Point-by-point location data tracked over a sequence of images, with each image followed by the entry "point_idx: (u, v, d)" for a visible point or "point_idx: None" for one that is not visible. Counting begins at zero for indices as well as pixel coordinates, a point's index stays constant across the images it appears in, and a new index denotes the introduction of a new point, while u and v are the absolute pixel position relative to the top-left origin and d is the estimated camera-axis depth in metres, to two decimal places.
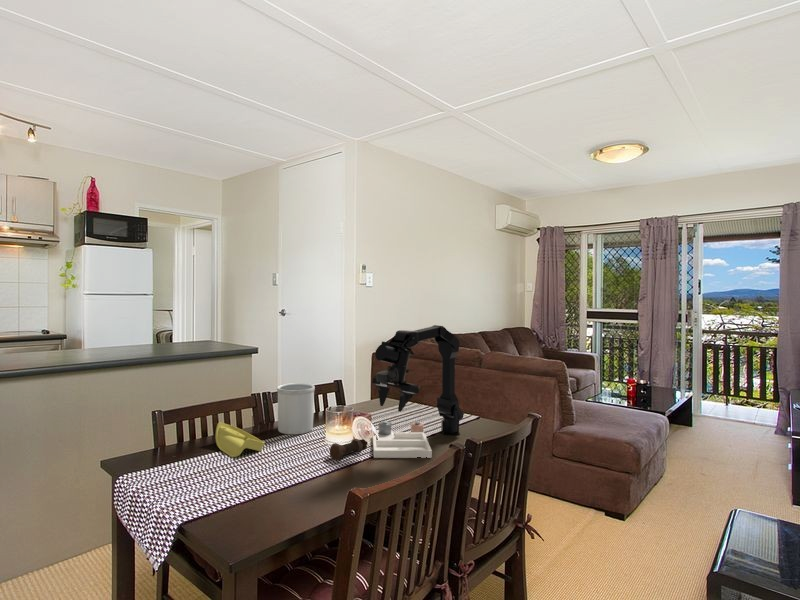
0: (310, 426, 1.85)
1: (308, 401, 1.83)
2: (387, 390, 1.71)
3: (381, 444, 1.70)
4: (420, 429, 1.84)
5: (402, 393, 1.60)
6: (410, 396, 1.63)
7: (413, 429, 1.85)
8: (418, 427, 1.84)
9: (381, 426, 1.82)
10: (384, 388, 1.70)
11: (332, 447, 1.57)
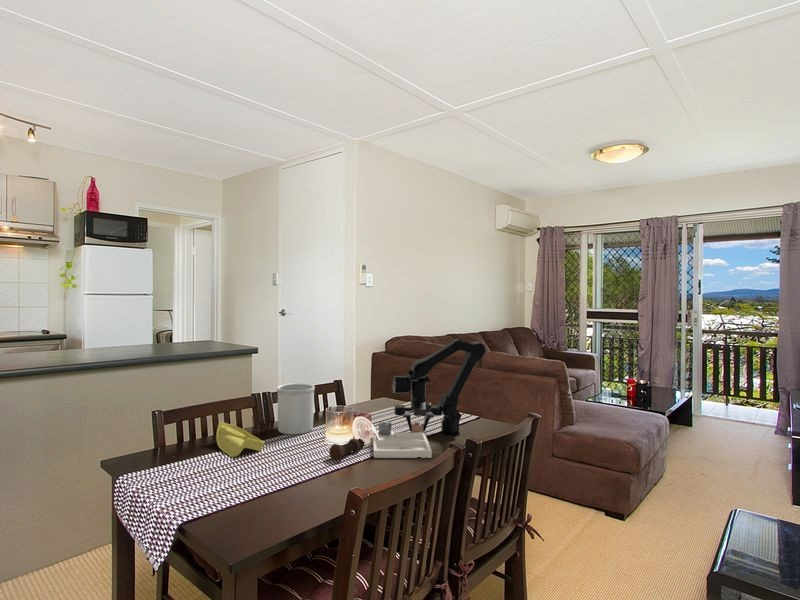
0: (310, 426, 1.85)
1: (308, 401, 1.83)
2: None
3: (381, 444, 1.70)
4: (420, 428, 1.84)
5: (430, 417, 1.84)
6: None
7: (413, 429, 1.85)
8: (418, 427, 1.84)
9: (381, 426, 1.82)
10: (409, 415, 1.86)
11: (332, 448, 1.57)
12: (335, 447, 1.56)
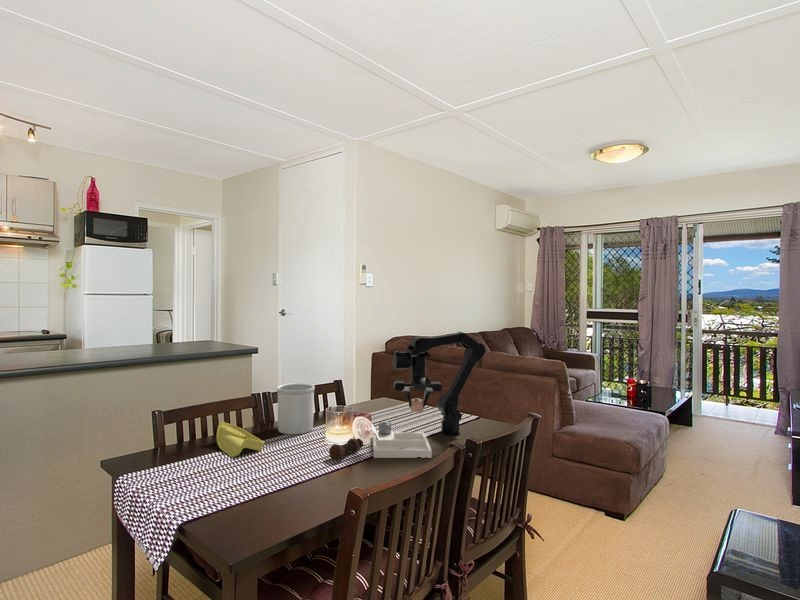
0: (310, 426, 1.85)
1: (308, 401, 1.83)
2: None
3: (381, 444, 1.70)
4: (420, 404, 1.82)
5: (430, 393, 1.82)
6: None
7: (413, 405, 1.83)
8: (418, 403, 1.82)
9: (381, 426, 1.82)
10: (409, 391, 1.84)
11: (332, 448, 1.56)
12: (335, 447, 1.56)
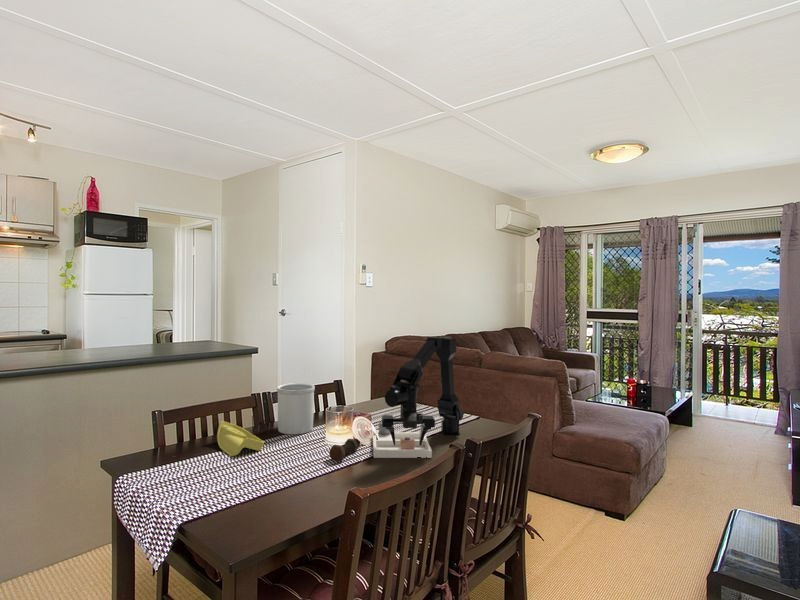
0: (310, 426, 1.85)
1: (308, 401, 1.83)
2: None
3: (381, 444, 1.70)
4: (411, 444, 1.64)
5: (427, 429, 1.63)
6: None
7: (402, 445, 1.64)
8: (408, 443, 1.63)
9: (381, 426, 1.82)
10: (393, 427, 1.65)
11: (333, 449, 1.56)
12: (336, 448, 1.55)
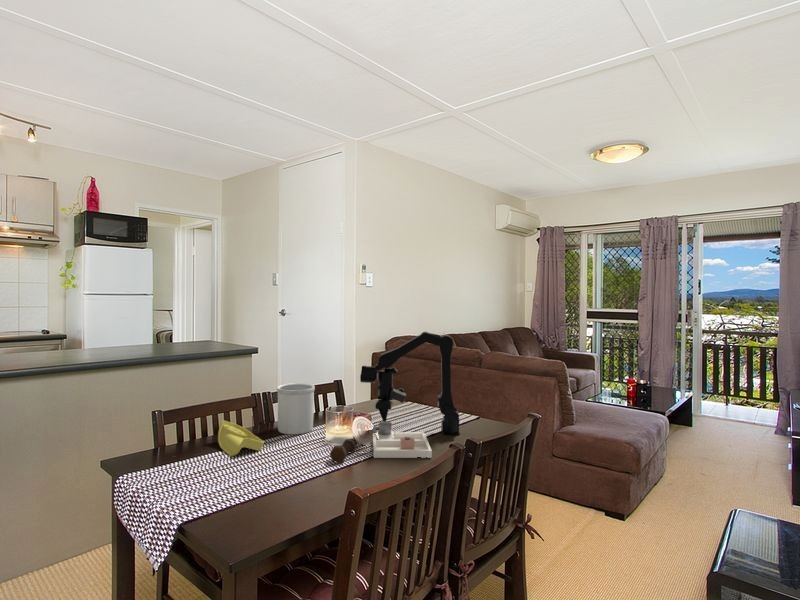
0: (310, 426, 1.85)
1: (308, 401, 1.83)
2: None
3: (381, 444, 1.70)
4: (411, 444, 1.64)
5: None
6: None
7: (403, 445, 1.64)
8: (408, 443, 1.63)
9: (381, 426, 1.82)
10: None
11: (334, 450, 1.55)
12: (338, 449, 1.55)
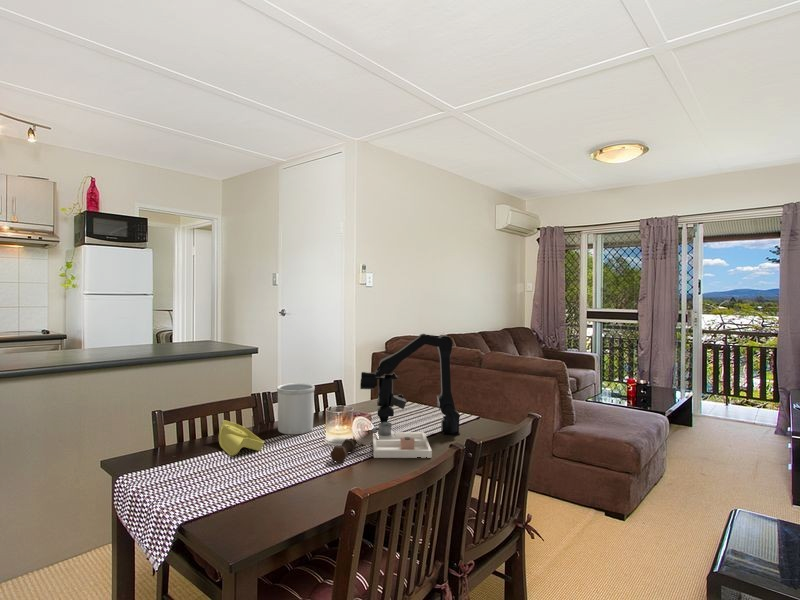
0: (310, 426, 1.85)
1: (308, 401, 1.83)
2: None
3: (381, 444, 1.70)
4: (411, 444, 1.64)
5: None
6: None
7: (403, 445, 1.64)
8: (408, 443, 1.63)
9: (381, 427, 1.82)
10: None
11: (335, 450, 1.55)
12: (338, 449, 1.54)
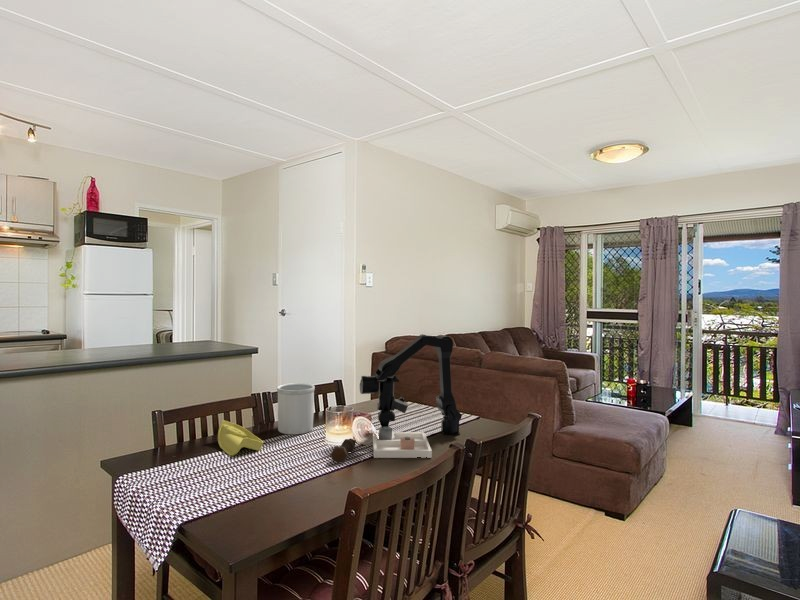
0: (310, 426, 1.85)
1: (308, 401, 1.83)
2: None
3: (381, 444, 1.70)
4: (411, 444, 1.64)
5: None
6: None
7: (403, 445, 1.64)
8: (408, 443, 1.63)
9: (381, 431, 1.76)
10: None
11: (335, 450, 1.54)
12: (339, 449, 1.54)
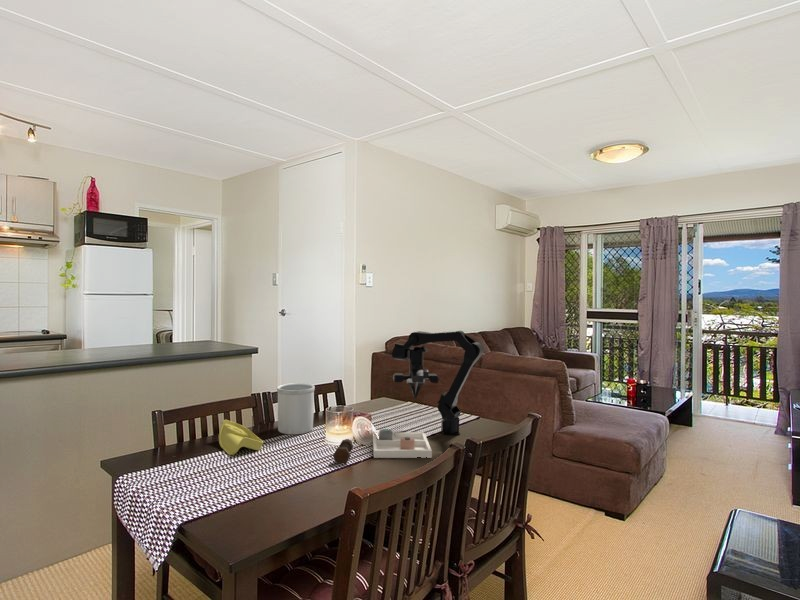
0: (310, 426, 1.85)
1: (308, 401, 1.83)
2: None
3: (381, 444, 1.70)
4: (411, 444, 1.64)
5: (421, 384, 1.94)
6: None
7: (403, 445, 1.64)
8: (408, 443, 1.63)
9: (381, 434, 1.72)
10: None
11: (338, 451, 1.53)
12: (341, 450, 1.53)
